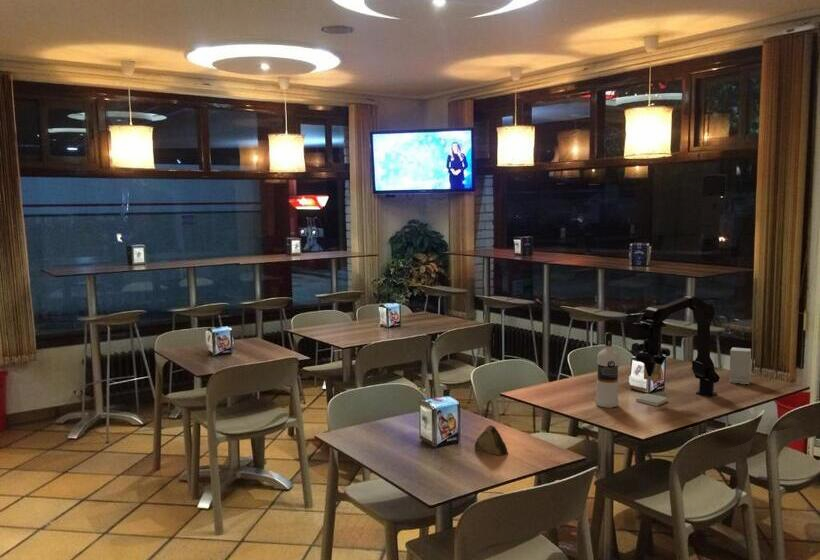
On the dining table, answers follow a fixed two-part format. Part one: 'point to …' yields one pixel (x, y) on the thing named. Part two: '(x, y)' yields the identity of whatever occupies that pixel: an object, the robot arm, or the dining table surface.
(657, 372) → the oak block
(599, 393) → the vodka
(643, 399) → the trivet
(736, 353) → the skincare box
